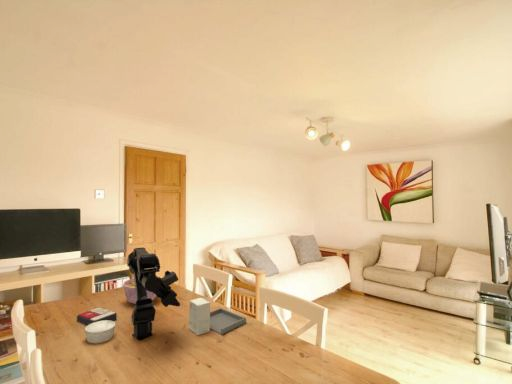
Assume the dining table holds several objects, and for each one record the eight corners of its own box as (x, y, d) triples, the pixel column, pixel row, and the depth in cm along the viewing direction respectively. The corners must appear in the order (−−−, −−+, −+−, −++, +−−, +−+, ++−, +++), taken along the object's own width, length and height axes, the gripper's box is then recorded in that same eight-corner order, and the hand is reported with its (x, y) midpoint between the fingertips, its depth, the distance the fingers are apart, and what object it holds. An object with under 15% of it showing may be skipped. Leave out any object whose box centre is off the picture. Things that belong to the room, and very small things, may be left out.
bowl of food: (114, 305, 152) (114, 284, 152) (141, 294, 171) (142, 275, 171) (141, 312, 144) (142, 289, 145) (168, 299, 163) (168, 279, 163)
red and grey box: (99, 306, 143) (116, 311, 135) (99, 314, 142) (117, 320, 135) (76, 314, 133) (94, 319, 126) (76, 323, 133) (94, 329, 125)
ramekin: (120, 336, 119) (120, 324, 119) (92, 348, 110) (93, 334, 110) (106, 329, 125) (106, 317, 126) (79, 339, 116) (80, 327, 116)
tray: (222, 335, 122) (222, 329, 122) (196, 322, 134) (196, 317, 134) (245, 323, 133) (246, 318, 133) (220, 312, 145) (220, 307, 145)
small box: (210, 331, 125) (210, 302, 125) (197, 335, 121) (198, 305, 121) (201, 324, 131) (201, 297, 131) (188, 328, 127) (189, 300, 127)
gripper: (172, 272, 111) (198, 295, 116) (161, 262, 127) (185, 283, 132) (151, 295, 107) (179, 318, 112) (142, 282, 123) (167, 302, 128)
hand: (178, 303), depth 121 cm, fingers open, 4 cm apart
